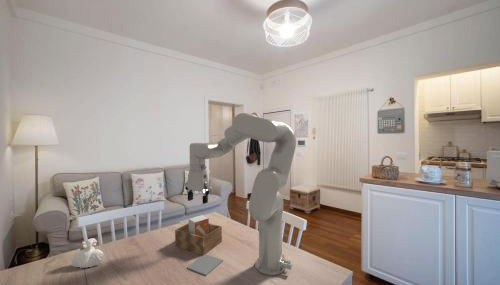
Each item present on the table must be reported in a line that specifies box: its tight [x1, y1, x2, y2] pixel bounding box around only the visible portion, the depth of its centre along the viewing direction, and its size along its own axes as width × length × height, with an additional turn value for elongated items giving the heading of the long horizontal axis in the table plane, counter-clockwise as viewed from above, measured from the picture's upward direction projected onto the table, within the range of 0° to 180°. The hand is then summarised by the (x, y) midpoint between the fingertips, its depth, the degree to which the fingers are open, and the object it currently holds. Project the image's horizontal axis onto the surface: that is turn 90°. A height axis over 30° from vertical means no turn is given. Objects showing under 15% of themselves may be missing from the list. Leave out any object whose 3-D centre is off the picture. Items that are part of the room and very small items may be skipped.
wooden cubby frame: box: [174, 222, 223, 256], centre depth 107 cm, size 18×14×8 cm
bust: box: [71, 237, 104, 269], centre depth 92 cm, size 12×8×11 cm
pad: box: [186, 253, 224, 277], centre depth 90 cm, size 10×11×1 cm
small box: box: [188, 214, 210, 237], centre depth 107 cm, size 8×6×13 cm
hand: (197, 201), depth 107 cm, fingers open, 9 cm apart
